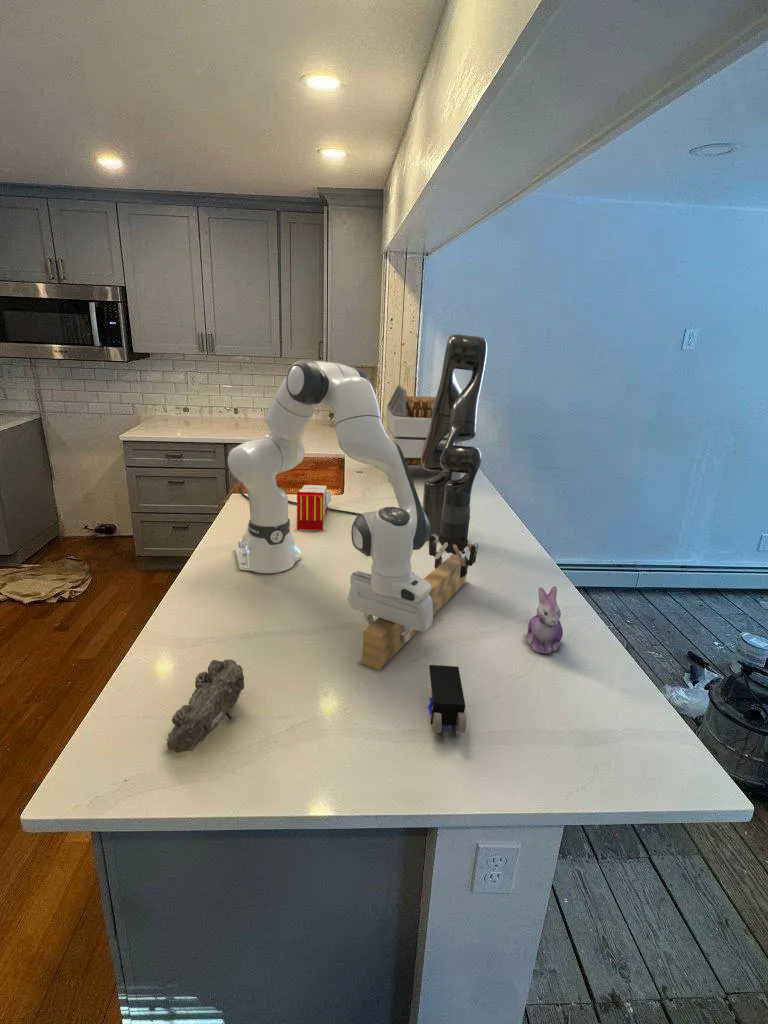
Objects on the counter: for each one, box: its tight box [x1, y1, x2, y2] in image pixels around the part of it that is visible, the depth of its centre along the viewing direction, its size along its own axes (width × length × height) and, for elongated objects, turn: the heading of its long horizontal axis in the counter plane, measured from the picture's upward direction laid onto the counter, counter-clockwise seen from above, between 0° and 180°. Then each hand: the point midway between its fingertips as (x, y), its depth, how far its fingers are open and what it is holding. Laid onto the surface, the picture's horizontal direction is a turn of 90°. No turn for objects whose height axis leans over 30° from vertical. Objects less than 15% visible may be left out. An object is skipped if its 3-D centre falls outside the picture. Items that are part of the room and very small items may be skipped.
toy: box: [296, 484, 332, 531], centre depth 210 cm, size 12×13×30 cm
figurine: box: [526, 585, 564, 655], centre depth 134 cm, size 9×10×15 cm
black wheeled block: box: [427, 664, 467, 738], centre depth 109 cm, size 7×8×15 cm
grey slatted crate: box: [385, 384, 464, 480], centre depth 268 cm, size 34×33×41 cm
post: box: [361, 553, 469, 670], centre depth 145 cm, size 51×4×8 cm, turn 151°
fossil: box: [166, 658, 245, 754], centre depth 106 cm, size 22×10×15 cm
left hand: (387, 634), depth 130 cm, fingers open, 7 cm apart
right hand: (450, 573), depth 159 cm, fingers open, 6 cm apart
